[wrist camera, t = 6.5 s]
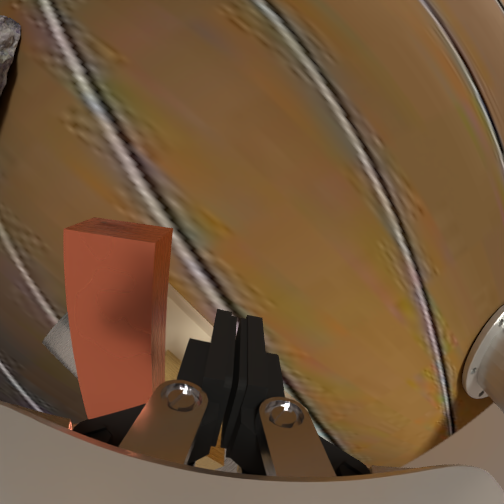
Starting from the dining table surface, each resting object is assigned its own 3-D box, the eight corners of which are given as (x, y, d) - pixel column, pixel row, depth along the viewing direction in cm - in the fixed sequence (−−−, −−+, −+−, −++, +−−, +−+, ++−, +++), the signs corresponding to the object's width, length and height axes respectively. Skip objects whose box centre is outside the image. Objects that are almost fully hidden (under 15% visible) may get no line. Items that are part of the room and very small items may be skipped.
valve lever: (175, 500, 13) (171, 523, 11) (124, 488, 12) (117, 510, 11) (182, 229, 8) (167, 244, 7) (86, 216, 8) (54, 227, 7)
